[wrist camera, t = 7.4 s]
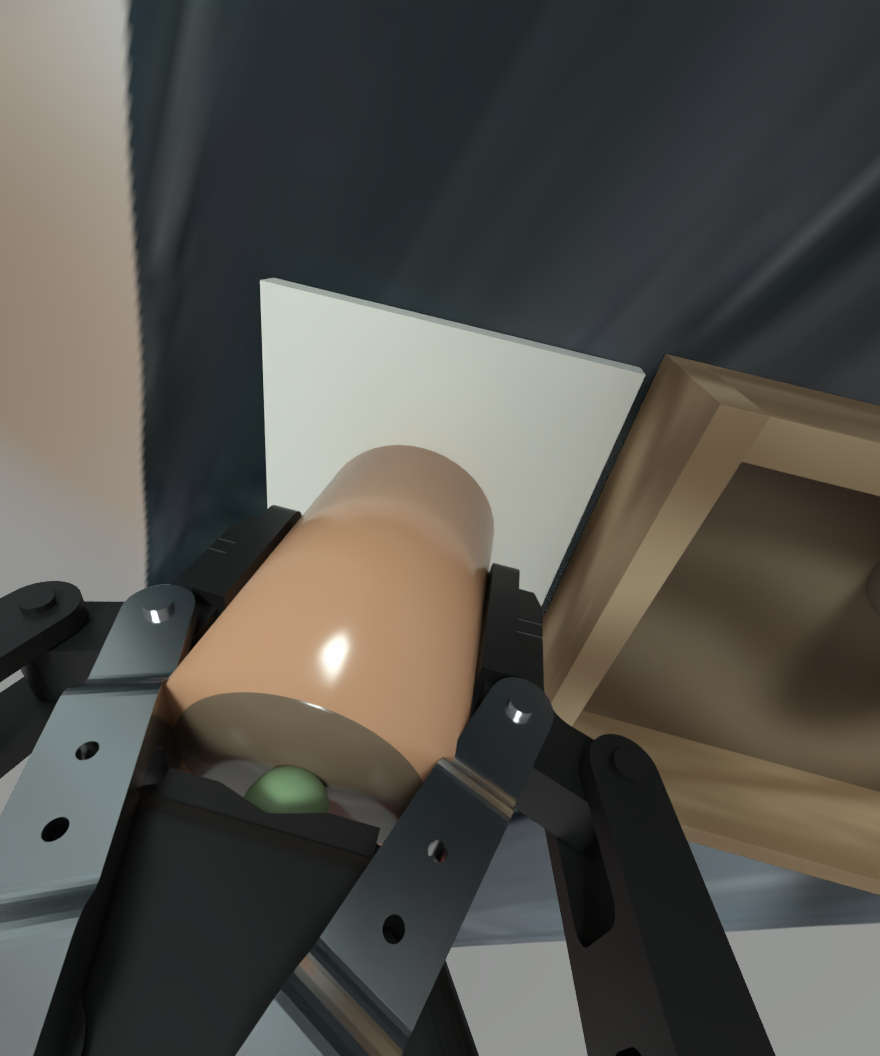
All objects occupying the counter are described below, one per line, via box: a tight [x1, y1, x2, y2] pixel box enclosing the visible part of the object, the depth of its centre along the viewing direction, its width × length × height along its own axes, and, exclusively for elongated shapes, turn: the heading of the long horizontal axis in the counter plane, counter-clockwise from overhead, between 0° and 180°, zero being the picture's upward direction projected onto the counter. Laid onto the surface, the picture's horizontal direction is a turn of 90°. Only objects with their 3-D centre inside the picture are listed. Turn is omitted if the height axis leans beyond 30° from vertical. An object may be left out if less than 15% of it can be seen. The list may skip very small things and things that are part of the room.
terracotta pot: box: [164, 445, 494, 846], centre depth 10 cm, size 5×5×9 cm
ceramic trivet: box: [260, 278, 646, 606], centre depth 16 cm, size 11×11×1 cm
